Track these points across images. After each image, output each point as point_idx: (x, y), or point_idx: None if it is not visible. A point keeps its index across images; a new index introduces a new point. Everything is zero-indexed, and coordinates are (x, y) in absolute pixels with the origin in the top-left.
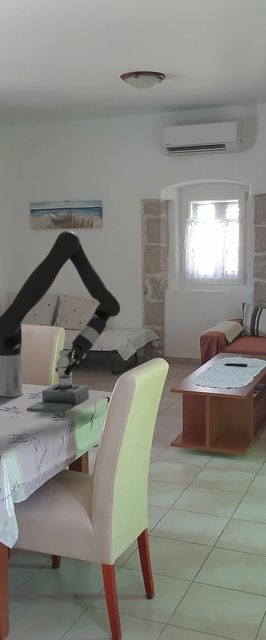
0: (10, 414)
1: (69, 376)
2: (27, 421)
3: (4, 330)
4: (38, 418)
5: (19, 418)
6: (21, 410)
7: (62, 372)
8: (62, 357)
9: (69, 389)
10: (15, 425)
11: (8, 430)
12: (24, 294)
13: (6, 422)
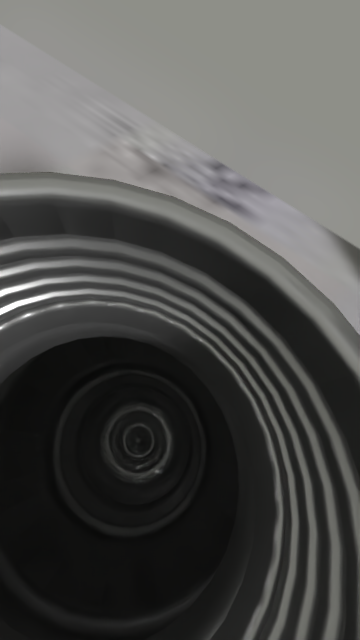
0: (156, 139)
1: (48, 444)
2: (22, 112)
3: None
4: (12, 152)
5: (81, 122)
6: (170, 191)
7: (82, 359)
8: (49, 334)
9: (79, 434)
10: (24, 70)
11: (2, 34)
12: None
13: (82, 78)
